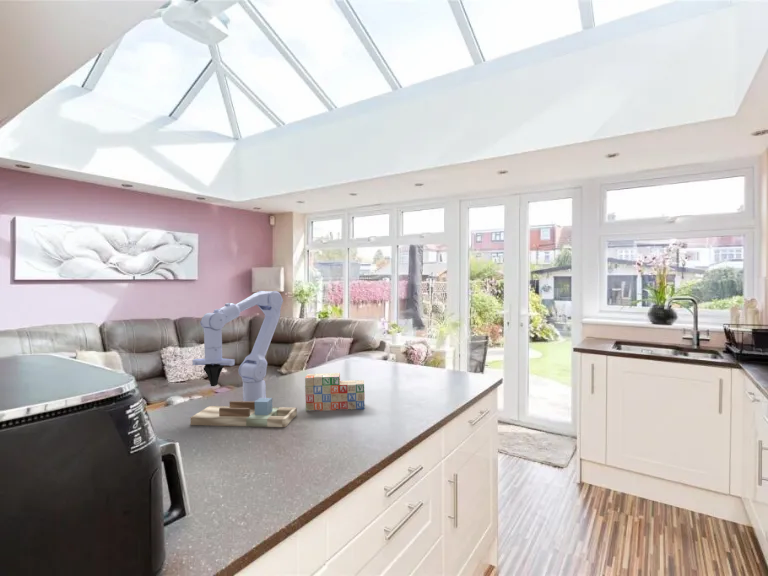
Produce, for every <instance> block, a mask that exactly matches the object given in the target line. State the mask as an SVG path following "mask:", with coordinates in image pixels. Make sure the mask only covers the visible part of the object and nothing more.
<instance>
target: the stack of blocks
mask: <svg viewBox="0 0 768 576" xmlns="http://www.w3.org/2000/svg"><path fill="white" fill-rule="evenodd" d="M304 385H305V386H304V391H305V393H304V394H305V411H306V412H307V410H320V411H337V410H336V409H347V410H348V409H351V410H365V400H366V399H365V396H366V394H365V379H360V380H354V379H353V380H352V379H351V380H341V374H340V372H329V373H328V372H325V373H307V374H306V376H305V377H304Z"/></svg>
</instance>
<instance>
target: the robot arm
mask: <svg viewBox="0 0 768 576" xmlns="http://www.w3.org/2000/svg"><path fill="white" fill-rule="evenodd" d="M283 303H284V299H283V297H282V294H281V293H280V292H279V291H278V290H273V291H272V290H268V291H267V290H265V291H264V290H259V291H257V292H254V293H253V294H251V295H249V296H248V297H246V298H244V299H243V300H241V301H239V302H238V303H237V302H236V303H230V302H226V303H224V306H222V307H220V308H215V309H214V310H213V312H207V313H205V314H204V315H203V316H202V317H201V320H200V321H199V323H200V326H201V328H202V329H203V341H204V342H203V343H204V344H203V345H204V349H203V350H204V351H203V352H204V358H195V359H192V360H191V361H192V366H204V367H202V368H203V371H204V372H205V374H206V375H207V378H208V382H209V384H210V387H216V386H218V382H219V380H220V379H219V378H220V376H221V373H222V370H223V369H224V367H225V366H230V367H232V366H235V365H236V364H235V363H236V361H235V360H236V359H235V358H223V336H222V334H223V333H222V331H223V330H222V329H223V328H224V327H225V325H226V324H228V323H230V322H232V321H233V320H235V319H238V318H239V317H240V315H241V313H242V312H244V311H246V310H247V309H250V308H253V307H255V306H257V307H258V308H259V309H260V310H261V311H262V313H263V314H264V319H263V321H262V324H261V326H260V330H259V331H258V334H257V337H256V339H255V342H254V344H253V347H252V350H251V352H250V353H249V354H248V355H246V356H245V358H244V360H243V361H242V362H241V364H240V365H239V367H238V371H237V373H238V375H239V376H240V377H241V381H242V401H256V400H258V399H259V398H267V392H266V391H267V389H266V388H267V387H266V381H265V380H264V378H265V377H266V375H267V367H268V361H267V359H266V356H267V352H268V349H269V347H270V344H271V341H272V339H273V338H274V337H273V336H274V333H275V331H276V328H277V326H278V323H279V320H280V317H281V311H282V310H281V308H282V305H283Z"/></svg>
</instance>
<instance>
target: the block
mask: <svg viewBox="0 0 768 576" xmlns="http://www.w3.org/2000/svg"><path fill="white" fill-rule="evenodd" d="M272 407H273V397H266V398H259V399H258V400H256V401H255V415H268V414H269V413H271V412H272Z"/></svg>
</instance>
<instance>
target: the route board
mask: <svg viewBox="0 0 768 576" xmlns="http://www.w3.org/2000/svg"><path fill="white" fill-rule="evenodd" d="M297 409H298V408H297V407H283V406H281V407H280V406H278V407H277V406H275V407H274V406H272V412H271V413H269V414H268V415H255V401H243V400H230V401H229V406H228V405H227V406H226V405H225V406H224V405H223V406H222V405H209V406H207V407H206V408H203V409H202V410H200V411H199V412H197V413H195V414H193V415H192V416H190V418H189V419H190V426H214V427H215V426H218V427H219V426H221V427H224V426H225V427H262V428H263V427H264V428H266V427H267V428H286V427H287V426H288V425H289V424H290V423H291V422H292V420H294V419H295V417H296V416H297V415H298V414H297V413H298V412H297V411H298V410H297Z"/></svg>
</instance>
